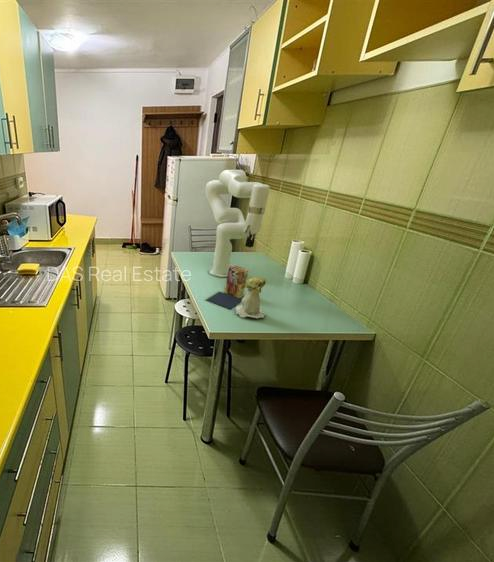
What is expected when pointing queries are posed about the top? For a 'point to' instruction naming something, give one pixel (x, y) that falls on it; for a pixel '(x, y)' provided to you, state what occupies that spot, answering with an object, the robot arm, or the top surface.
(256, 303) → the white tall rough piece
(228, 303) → the mat
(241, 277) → the candy box
